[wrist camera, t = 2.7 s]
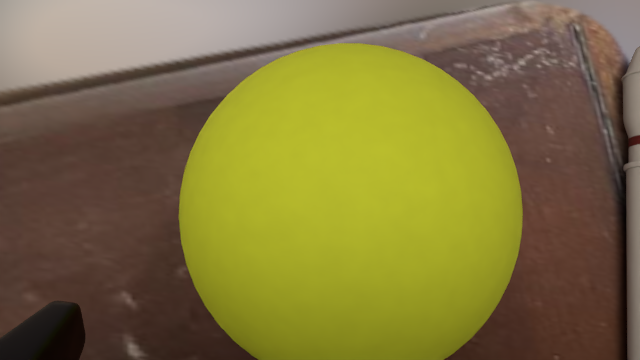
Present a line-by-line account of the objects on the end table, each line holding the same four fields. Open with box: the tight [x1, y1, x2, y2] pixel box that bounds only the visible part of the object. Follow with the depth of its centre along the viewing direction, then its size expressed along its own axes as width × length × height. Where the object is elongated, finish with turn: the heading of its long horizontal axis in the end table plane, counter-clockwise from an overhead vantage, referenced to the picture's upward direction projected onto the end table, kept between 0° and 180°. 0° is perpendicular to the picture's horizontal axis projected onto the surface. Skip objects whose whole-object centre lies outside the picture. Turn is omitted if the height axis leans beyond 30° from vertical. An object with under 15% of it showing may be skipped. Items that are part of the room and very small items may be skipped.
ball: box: [179, 43, 523, 360], centre depth 12 cm, size 7×7×7 cm
